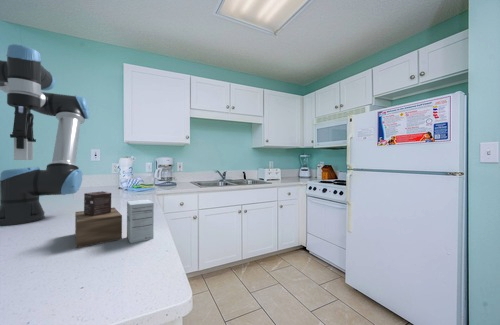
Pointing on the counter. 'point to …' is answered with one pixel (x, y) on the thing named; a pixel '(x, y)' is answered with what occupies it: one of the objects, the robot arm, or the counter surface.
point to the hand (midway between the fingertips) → (24, 160)
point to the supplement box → (140, 220)
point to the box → (97, 203)
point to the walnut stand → (97, 228)
